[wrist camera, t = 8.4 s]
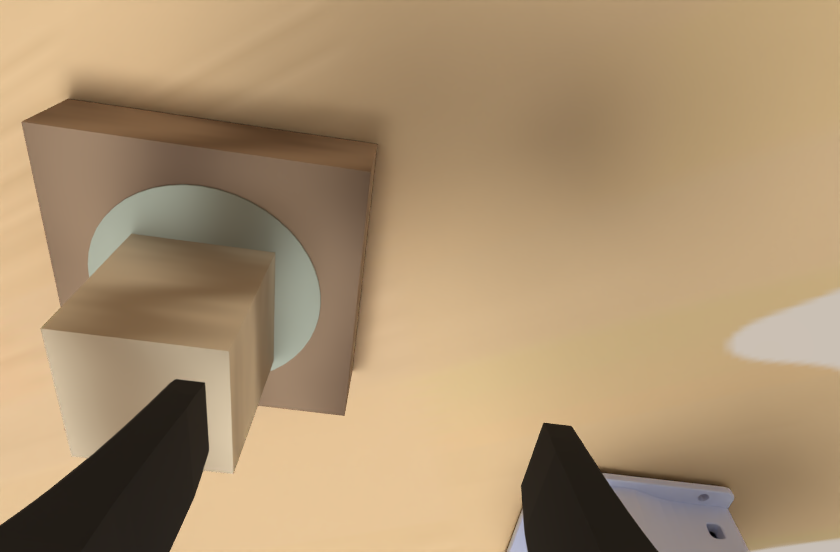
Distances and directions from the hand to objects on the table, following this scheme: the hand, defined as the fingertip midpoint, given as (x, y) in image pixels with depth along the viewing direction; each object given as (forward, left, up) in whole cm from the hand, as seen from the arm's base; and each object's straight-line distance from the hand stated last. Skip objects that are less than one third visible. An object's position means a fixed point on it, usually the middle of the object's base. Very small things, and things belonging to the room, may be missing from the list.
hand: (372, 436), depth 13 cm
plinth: (+6, +2, -10) cm, 12 cm away
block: (+6, +2, -7) cm, 10 cm away
